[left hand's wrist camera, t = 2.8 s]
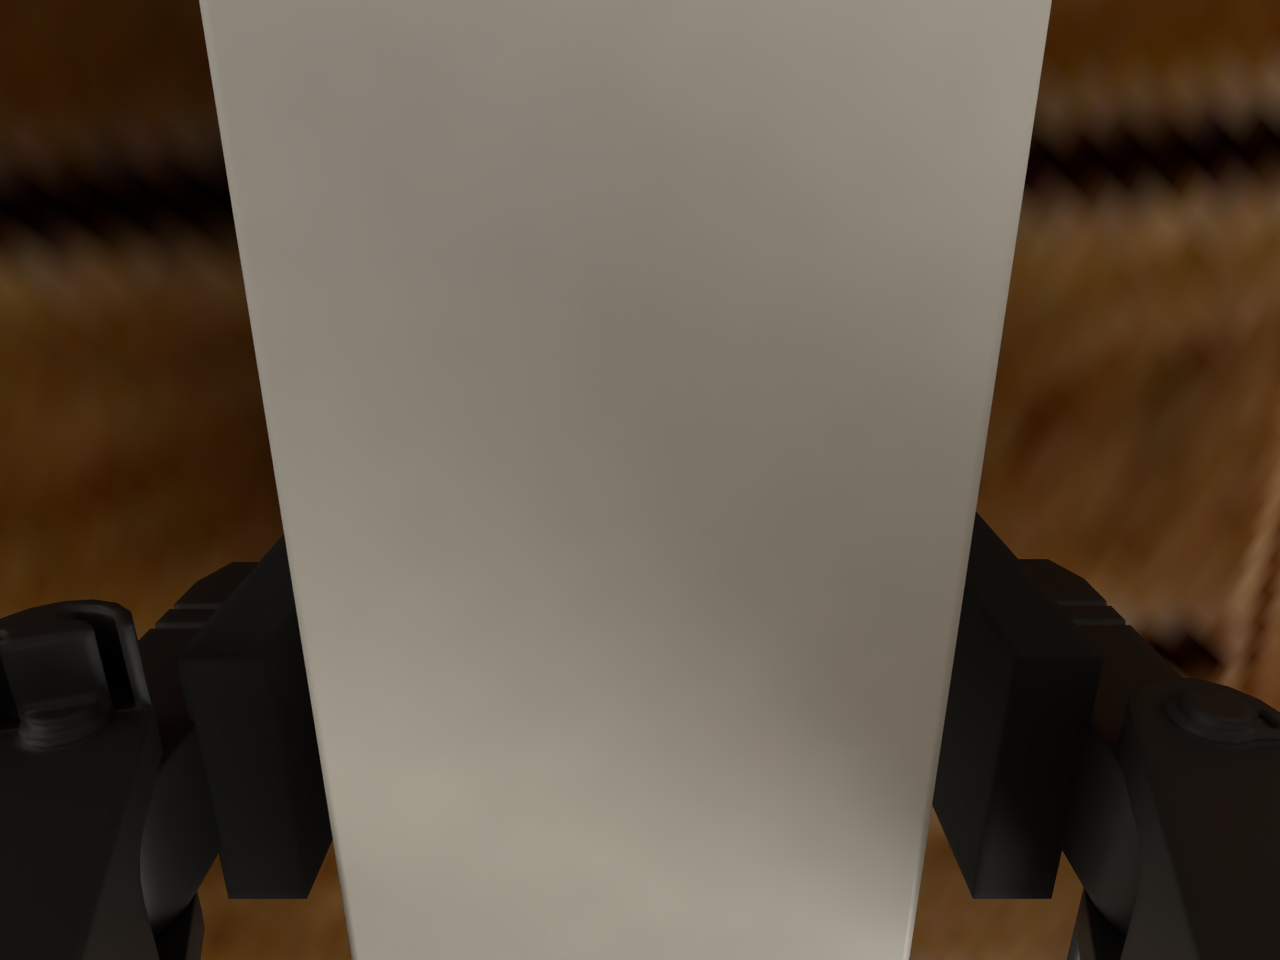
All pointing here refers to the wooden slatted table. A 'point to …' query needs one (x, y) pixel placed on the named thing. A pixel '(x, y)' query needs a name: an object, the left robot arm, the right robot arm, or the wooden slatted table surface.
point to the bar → (627, 446)
